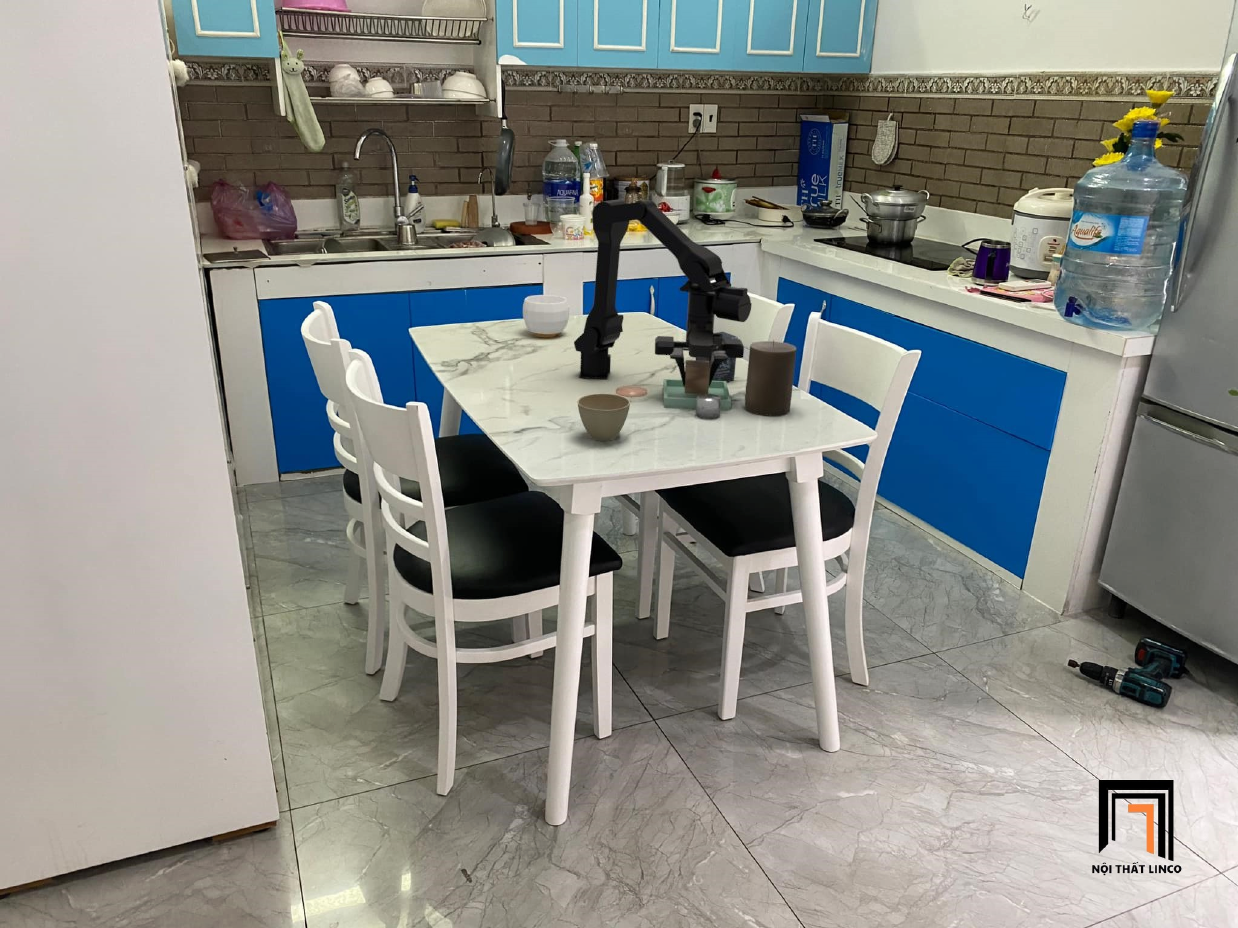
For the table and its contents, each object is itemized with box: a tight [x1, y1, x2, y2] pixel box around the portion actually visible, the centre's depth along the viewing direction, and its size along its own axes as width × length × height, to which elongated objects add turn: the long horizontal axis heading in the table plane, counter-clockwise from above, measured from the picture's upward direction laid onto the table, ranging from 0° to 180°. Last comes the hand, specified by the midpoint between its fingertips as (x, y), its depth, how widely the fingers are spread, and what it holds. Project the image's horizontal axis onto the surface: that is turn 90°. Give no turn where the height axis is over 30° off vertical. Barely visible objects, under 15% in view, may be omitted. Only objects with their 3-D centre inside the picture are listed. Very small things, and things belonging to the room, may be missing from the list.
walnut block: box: [684, 359, 710, 394], centre depth 202 cm, size 5×5×6 cm
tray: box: [662, 378, 732, 411], centre depth 204 cm, size 14×14×2 cm
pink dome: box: [615, 385, 649, 398], centre depth 207 cm, size 7×7×1 cm
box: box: [695, 331, 739, 382], centre depth 216 cm, size 8×6×11 cm
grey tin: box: [695, 394, 721, 421], centre depth 193 cm, size 5×5×4 cm
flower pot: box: [576, 392, 631, 442], centre depth 179 cm, size 10×10×7 cm
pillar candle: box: [744, 339, 797, 417], centre depth 196 cm, size 10×10×15 cm
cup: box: [522, 294, 570, 338], centre depth 250 cm, size 12×12×10 cm
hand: (696, 385), depth 203 cm, fingers closed on walnut block, 5 cm apart
